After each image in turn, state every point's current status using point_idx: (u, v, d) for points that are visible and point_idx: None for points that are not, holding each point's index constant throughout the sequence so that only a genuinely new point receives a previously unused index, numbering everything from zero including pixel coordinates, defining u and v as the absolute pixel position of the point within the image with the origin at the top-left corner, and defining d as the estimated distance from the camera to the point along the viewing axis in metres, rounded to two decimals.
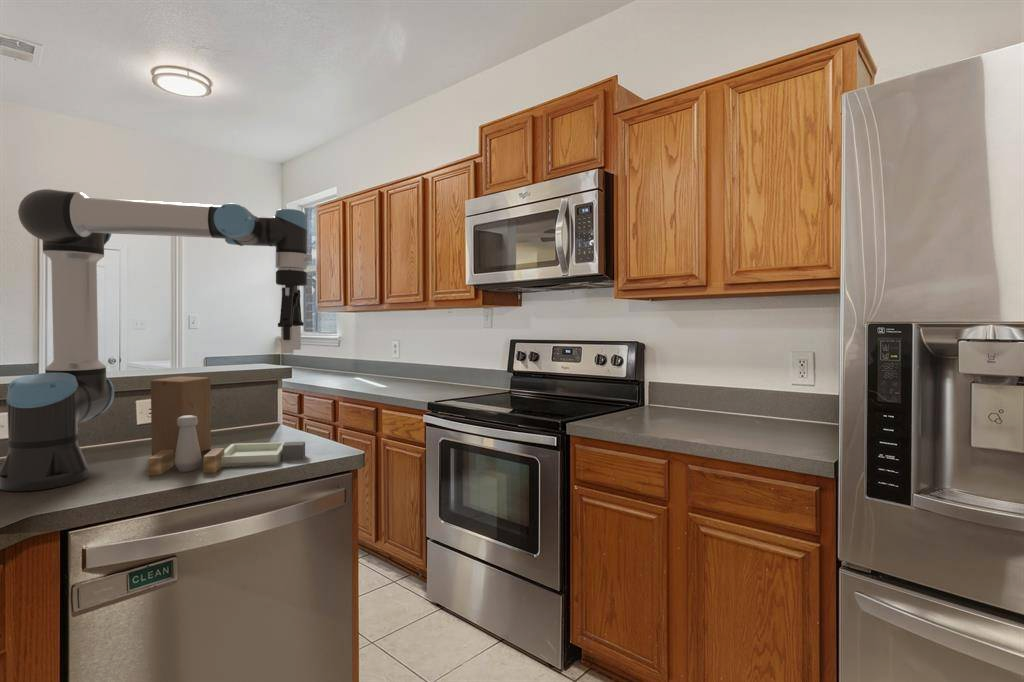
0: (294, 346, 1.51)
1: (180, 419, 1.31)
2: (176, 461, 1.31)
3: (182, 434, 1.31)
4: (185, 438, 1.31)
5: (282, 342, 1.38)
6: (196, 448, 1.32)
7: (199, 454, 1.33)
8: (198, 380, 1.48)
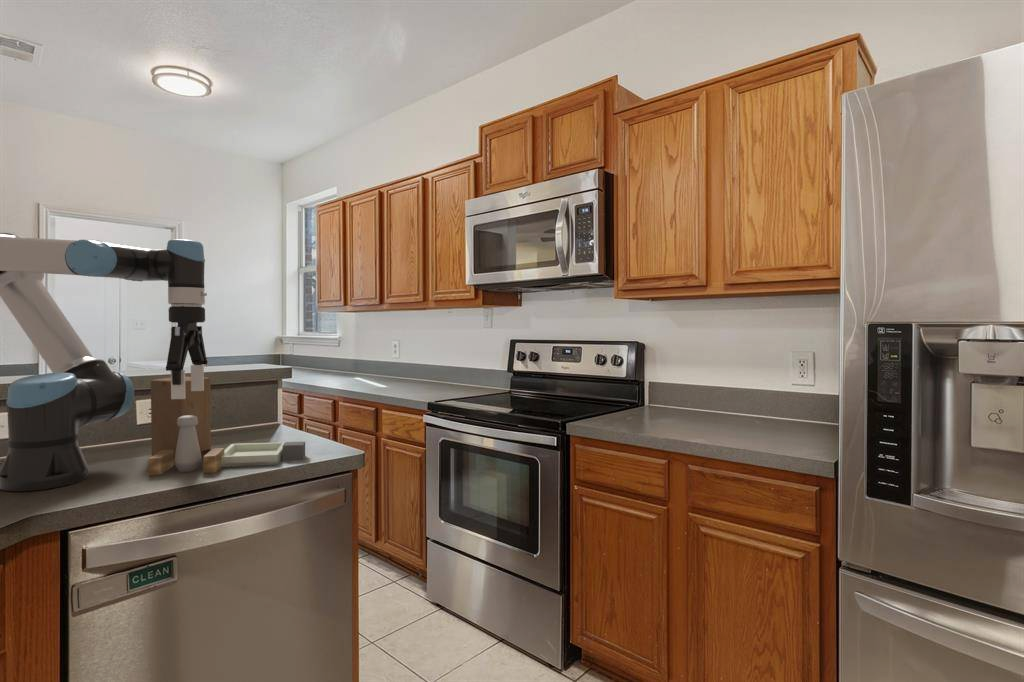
0: (196, 387, 1.38)
1: (180, 419, 1.31)
2: (176, 461, 1.31)
3: (182, 434, 1.31)
4: (185, 438, 1.31)
5: (172, 386, 1.25)
6: (196, 448, 1.32)
7: (199, 454, 1.33)
8: None
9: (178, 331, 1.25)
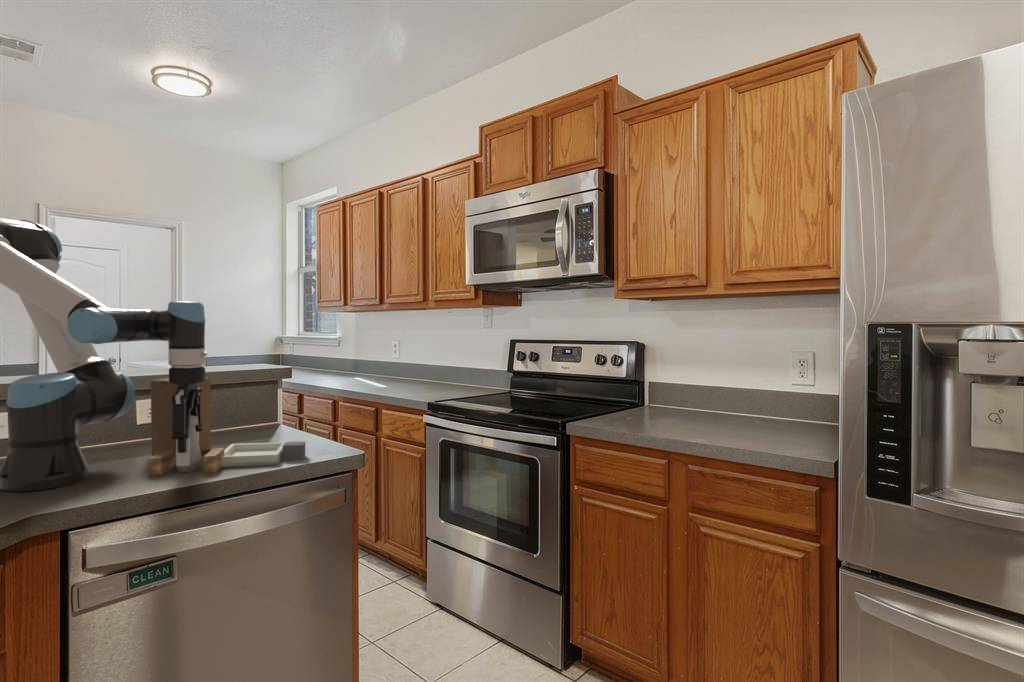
0: None
1: None
2: None
3: None
4: None
5: (177, 454, 1.29)
6: (196, 448, 1.32)
7: (199, 454, 1.33)
8: None
9: (179, 401, 1.26)
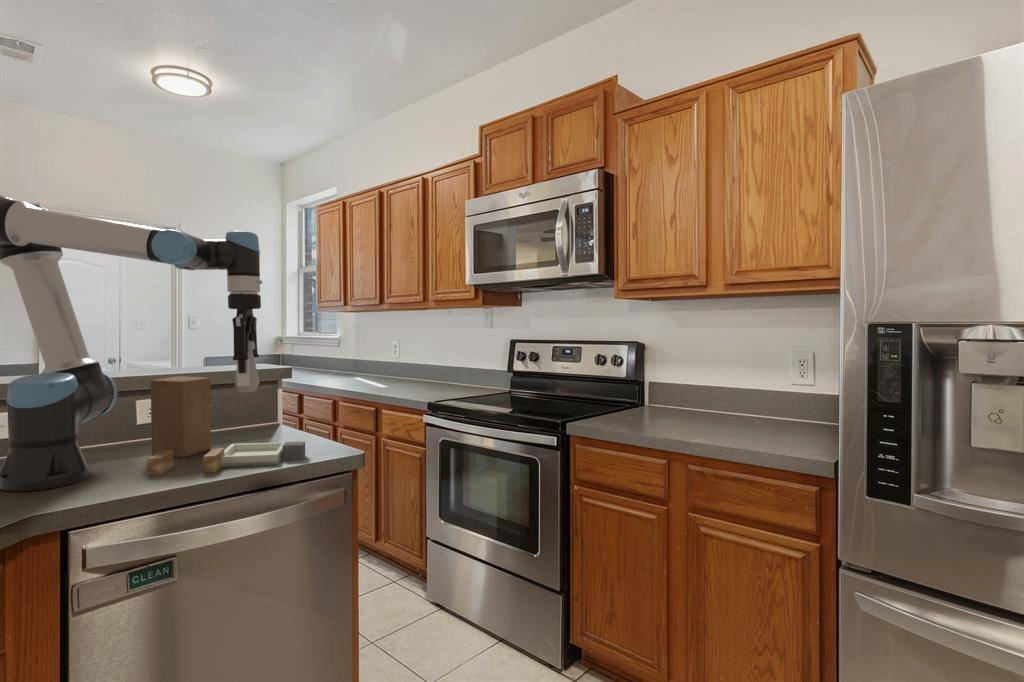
0: None
1: None
2: None
3: None
4: None
5: (238, 375, 1.37)
6: (254, 371, 1.41)
7: (257, 377, 1.41)
8: (198, 380, 1.48)
9: (239, 323, 1.34)
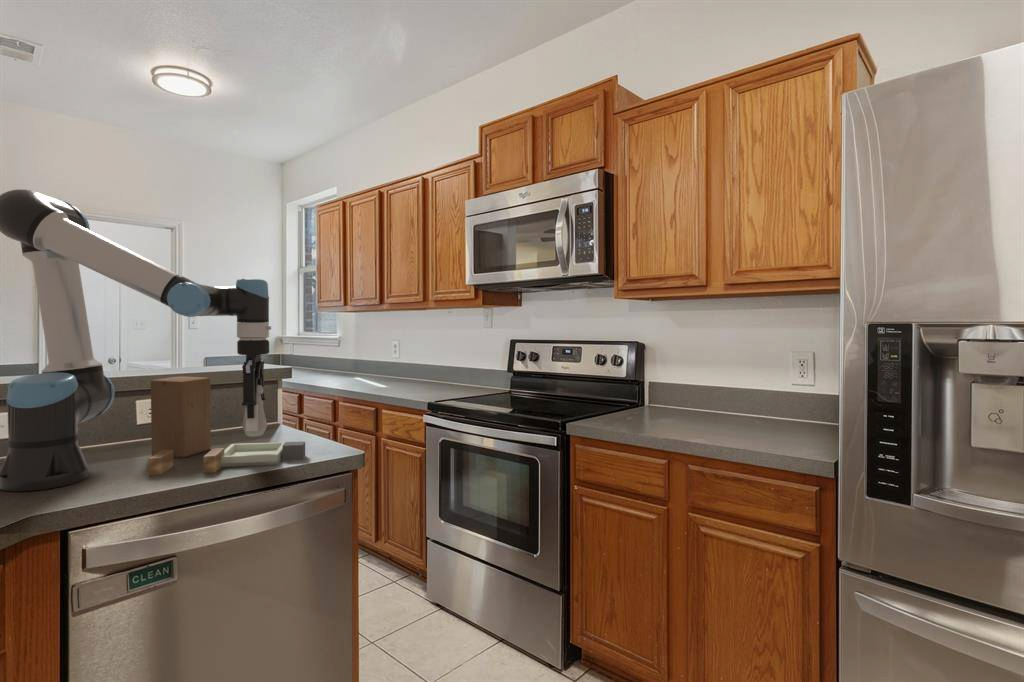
0: None
1: None
2: (245, 426, 1.41)
3: None
4: None
5: (246, 420, 1.40)
6: (262, 415, 1.43)
7: (265, 420, 1.44)
8: (198, 380, 1.48)
9: (249, 370, 1.37)
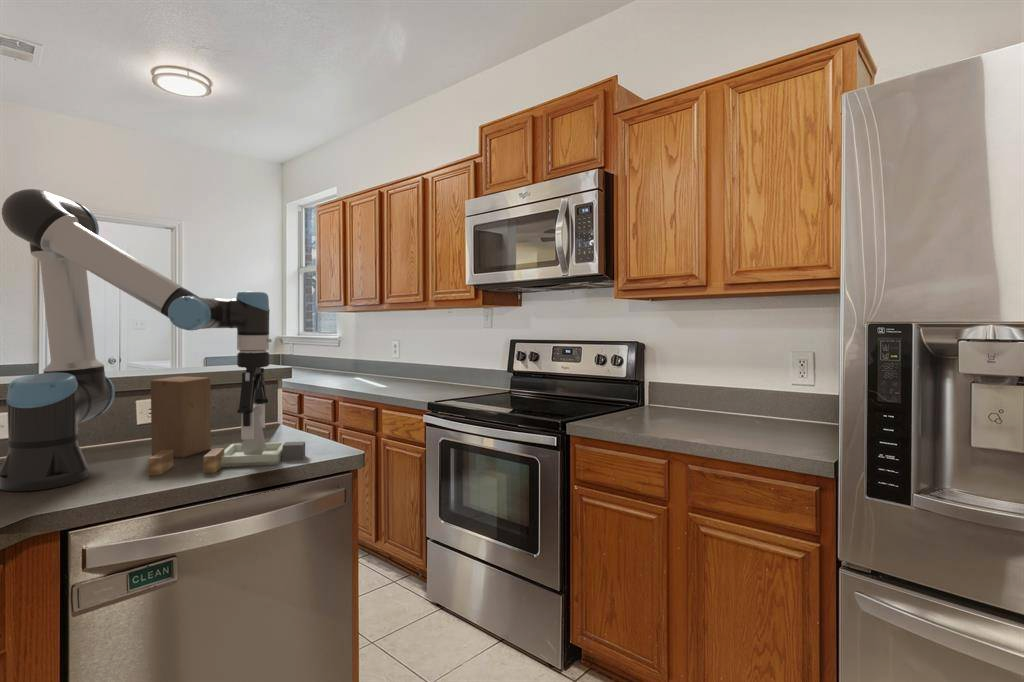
0: None
1: None
2: (244, 448, 1.41)
3: None
4: None
5: (242, 427, 1.36)
6: (261, 436, 1.43)
7: (264, 441, 1.44)
8: (198, 380, 1.48)
9: (248, 377, 1.36)
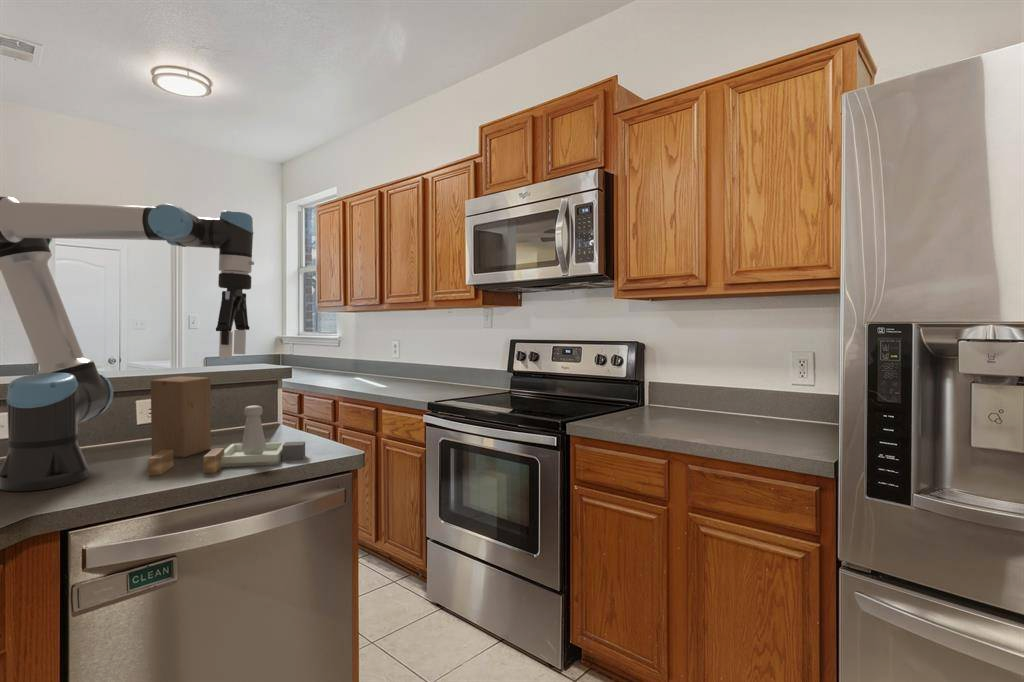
0: (238, 350, 1.48)
1: (247, 409, 1.42)
2: (244, 447, 1.41)
3: (249, 422, 1.42)
4: (252, 426, 1.42)
5: (220, 346, 1.35)
6: (261, 436, 1.43)
7: (264, 441, 1.44)
8: (198, 380, 1.48)
9: (228, 295, 1.35)
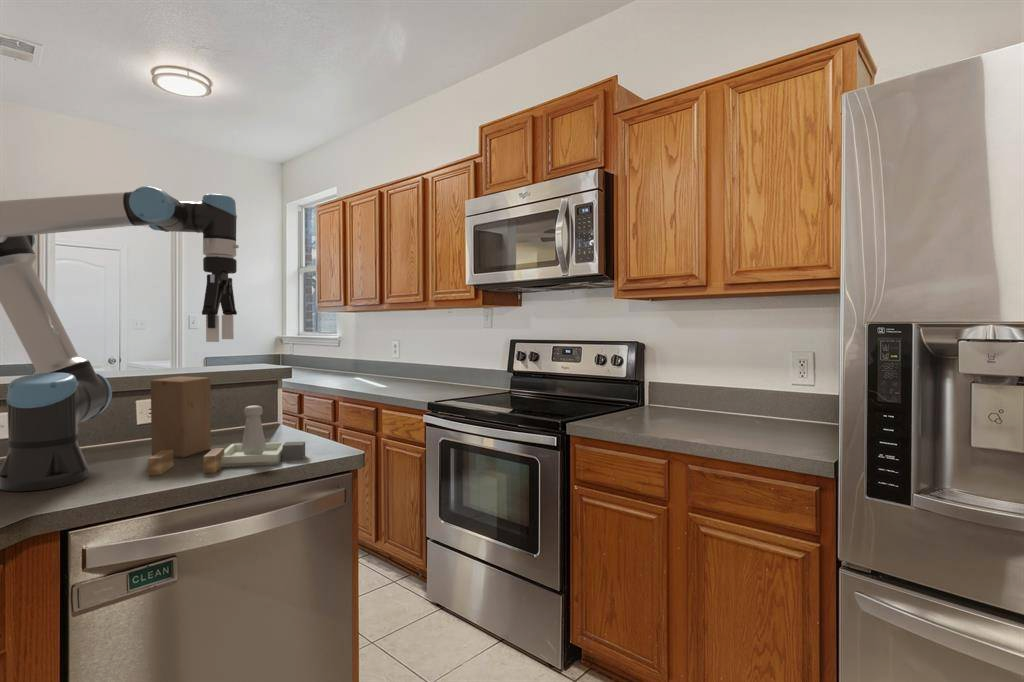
0: (226, 335, 1.48)
1: (247, 409, 1.42)
2: (244, 447, 1.41)
3: (249, 422, 1.42)
4: (252, 426, 1.42)
5: (207, 330, 1.34)
6: (261, 436, 1.43)
7: (264, 441, 1.44)
8: (198, 380, 1.48)
9: (213, 278, 1.34)
